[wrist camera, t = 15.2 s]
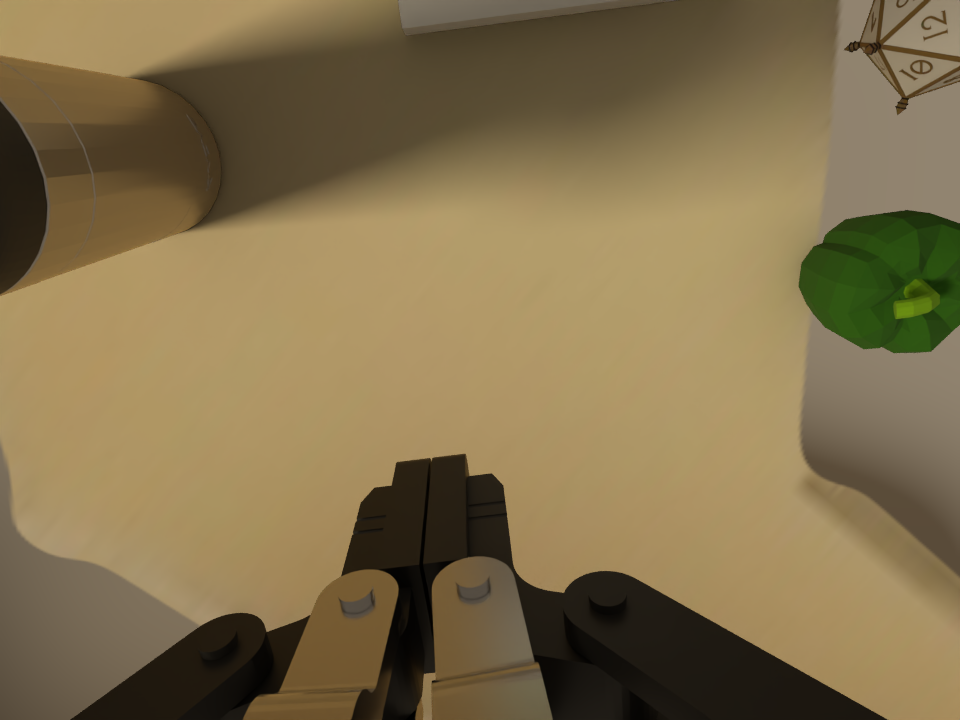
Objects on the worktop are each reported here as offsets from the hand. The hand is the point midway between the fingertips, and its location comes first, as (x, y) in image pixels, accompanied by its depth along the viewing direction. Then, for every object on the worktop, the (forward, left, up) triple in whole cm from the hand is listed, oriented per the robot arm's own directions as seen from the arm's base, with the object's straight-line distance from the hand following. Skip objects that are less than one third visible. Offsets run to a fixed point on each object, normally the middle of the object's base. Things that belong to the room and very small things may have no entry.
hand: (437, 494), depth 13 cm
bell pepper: (+26, -4, -29) cm, 39 cm away
